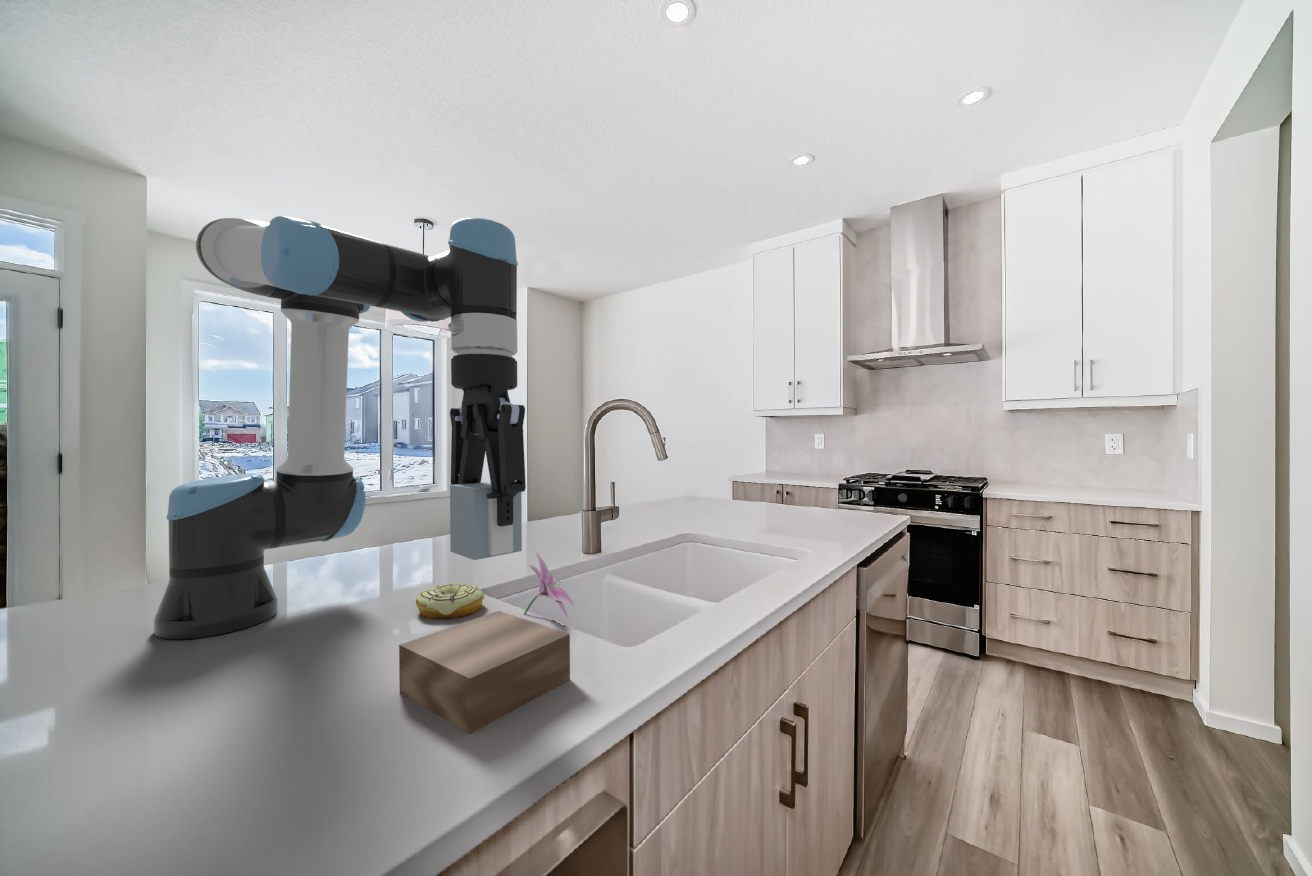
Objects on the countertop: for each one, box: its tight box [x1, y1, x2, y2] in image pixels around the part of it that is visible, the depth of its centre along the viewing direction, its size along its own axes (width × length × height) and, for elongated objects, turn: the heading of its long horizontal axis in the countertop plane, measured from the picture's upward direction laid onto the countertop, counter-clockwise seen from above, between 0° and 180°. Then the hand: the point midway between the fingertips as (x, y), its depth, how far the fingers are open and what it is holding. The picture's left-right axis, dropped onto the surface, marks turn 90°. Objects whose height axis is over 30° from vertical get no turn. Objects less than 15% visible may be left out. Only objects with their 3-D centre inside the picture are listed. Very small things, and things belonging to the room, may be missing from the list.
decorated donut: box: [415, 582, 485, 619], centre depth 88 cm, size 10×11×4 cm
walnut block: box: [398, 610, 571, 735], centre depth 62 cm, size 14×14×6 cm
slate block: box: [449, 481, 523, 561], centre depth 62 cm, size 6×6×8 cm
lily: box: [523, 550, 575, 619], centre depth 86 cm, size 12×12×10 cm
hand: (486, 548), depth 62 cm, fingers closed on slate block, 6 cm apart
